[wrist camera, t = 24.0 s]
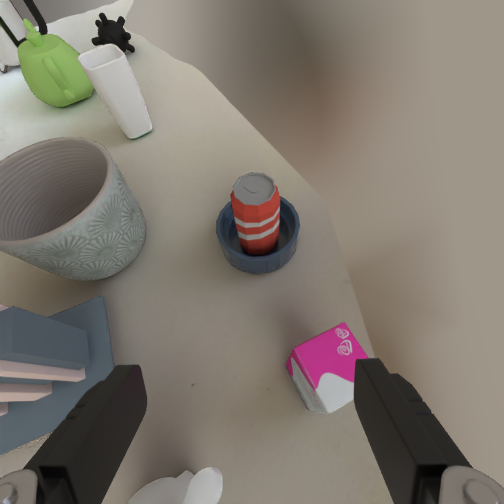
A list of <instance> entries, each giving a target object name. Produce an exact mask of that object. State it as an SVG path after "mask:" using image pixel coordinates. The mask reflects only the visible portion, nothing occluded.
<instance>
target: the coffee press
mask: <svg viewBox="0 0 504 504" xmlns="http://www.w3.org/2000/svg"><path fill="white" fill-rule="evenodd" d="M24 2H25V4H26V5H27V7H28V8H29V10H30V12H31V13H32V15H33V16H34V18H35V20H36V21H37V23H38V26H39V31H38V32H40V34H41V35H46V34H47V32H48V31H47V26H46V23H45V21H44V19H43V17H42V15H41V14H40V12H39V10H38V9H37V7H36V5H35V4H34V2H33V0H24ZM28 33H29V32H28V31H27V29H26V27H25V26H24V24H23V19H22V18H21V16H20V14H19V13H18V12H17V10H16V8H15V7H14V5H13V4H12V2H11V1H10V0H0V62H1V63H2V64H4V65H5V69H4V71H1V70H0V71H1V72H2V73H6V72H7V67H8V66H16V65H20V62H19V58H18V52H17V50H18V47H19V45H20V44H21V43H23V42H24V41H26V40H27V39H26V38H25V36H26V35H27V34H28Z"/></svg>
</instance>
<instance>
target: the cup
mask: <svg viewBox="0 0 504 504" xmlns="http://www.w3.org/2000/svg"><path fill="white" fill-rule="evenodd" d="M78 61H79V63H80V65H81V66H82V68H83V70H84V71H85V73H86V75H87V77H88V78H89V80H90V82H91V83H92V85H93V87H94V88H95V90H96V92H97V93H98V95H99V97H100V98H101V100H102V101H103V103H104V104H105V106H106V108H107V109H108V111H109V112H110V113H111V115H112V116H113V118H114V119H115V121H116V122H117V123H118V125H119V126H120V128H121V129H122V130H123V132H124V133H125V134H126V136H127V137H128V138H130V139H136V138H138V137H140V136H143V135H145V134H147V133H149V132H150V131H151V129H152V124H151V121H150V117H149V114H148V111H147V108H146V105H145V102H144V100H143V97H142V94H141V92H140V89H139V87H138V84H137V82H136V79H135V77H134V75H133V72H132V70H131V68H130V65H129V63H128V61H127V58H126V56H125V54H124V52H123V51H121V50H120V49H119V48H118V47H117V46H116V45H114V44H106V45H103V46H100V47H97V48H95V49H92V50H89V51H87V52H84V53H82V54H80V55H79V56H78Z"/></svg>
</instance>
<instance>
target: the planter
mask: <svg viewBox="0 0 504 504" xmlns="http://www.w3.org/2000/svg"><path fill="white" fill-rule="evenodd" d="M145 235H146V224H145V219H144V216H143V213H142V210H141V208H140V206H139V204H138V202H137V200H136V199H135V197H134V195H133V193H132V192H131V190H130V188H129V186H128V185H127V183H126V181H125V179H124V178H123V176H122V174H121V172H120V171H119V169H118V167H117V165H116V164H115V162H114V160H113V158H112V156H111V155H110V153H109V152H108V151H107V149H106V148H104V147H103V146H102V145H101V144H99V143H97V142H95V141H93V140H90V139H86V138H81V137H60V138H54V139H49V140H45V141H41V142H38V143H35V144H32V145H30V146H27V147H25V148H23V149H21V150H19V151H17V152H15V153H13V154H11V155H10V156H8V157H7V158H5V159H4V160H2V161H1V162H0V250H1V251H3V252H5V253H7V254H10V255H12V256H14V257H16V258H19V259H21V260H23V261H26V262H28V263H30V264H32V265H35V266H37V267H39V268H41V269H44V270H46V271H48V272H50V273H53V274H55V275H58V276H60V277H64V278H67V279H72V280H80V281H92V280H100V279H104V278H107V277H110V276H112V275H114V274H116V273H118V272H120V271H121V270H123V269H124V268H126V267H127V266H128V265H129V264H130V263H131V262H132V261H133V260H134V259H135V258H136V257H137V255H138V254H139V252H140V250H141V249H142V246H143V244H144V241H145Z"/></svg>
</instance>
